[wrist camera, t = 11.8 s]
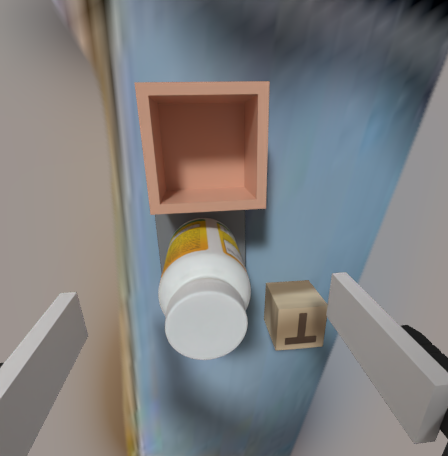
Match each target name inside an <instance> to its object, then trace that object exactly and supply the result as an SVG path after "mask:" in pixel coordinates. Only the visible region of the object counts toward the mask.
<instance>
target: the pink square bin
mask: <svg viewBox="0 0 448 456" xmlns="http://www.w3.org/2000/svg"><path fill="white" fill-rule="evenodd" d="M269 82H270V81H249V82H145V83H135V90H136V98H137V106H138V114H139V123H140V131H141V139H142V147H143V155H144V163H145V172H146V180H147V188H148V196H149V204H150V212H151V215H155V214H173V213H192V212H211V211H229V210H248V209H266V188H267V153H268V118H269Z"/></svg>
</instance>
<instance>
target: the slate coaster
mask: <svg viewBox="0 0 448 456" xmlns="http://www.w3.org/2000/svg"><path fill="white" fill-rule="evenodd" d="M196 218H211V219H214V220H217V221H219V222H221V223H223V224H224V225H225V226H226V227H227V228H228V229H229V230H230V231H231V232H232V234H233V236H234V238H235V241H236V243H237V246H238V249H239V252H240V255H241V258H242V260H243V263H244V266H245V210H229V211H211V212H192V213H173V214H155V221H156V229H157V238H158V246H159V255H160V263H161V272H163V268H164V264H165V260H166V256H167V252H168V248H169V243H170V240H171V238H172V236H173V234H174V233H175V231H176V230H177V229H178V228H179V227H180V226H181V225H183V224H184V223H186V222H188V221H190V220H193V219H196Z"/></svg>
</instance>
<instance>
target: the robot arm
mask: <svg viewBox="0 0 448 456" xmlns="http://www.w3.org/2000/svg"><path fill="white" fill-rule="evenodd" d="M326 316H327V317H328V319H329V320H330V322H331V323H332V325H333V326H334V328H335V329H336V330H337V332H338V333H339V335H340V336H341V338H342V339H343V341H344V342H345V343H346V345H347V346H348V348H349V349H350V351H351V352H352V354H353V355H354V357H355V358H356V360H357V361H358V362H359V364H360V365H361V367H362V368H363V370H364V371H365V373H366V374H367V376H368V377H369V379H370V380H371V382H372V383H373V384H374V386H375V387H376V389H377V390H378V392H379V393H380V395H381V396H382V398H383V399H384V401H385V402H386V404H387V405H388V406H389V408H390V409H391V411H392V412H393V414H394V415H395V417H396V418H397V420H398V421H399V423H400V424H401V425H402V427H403V428H404V430H405V431H406V433H407V434H408V436H409V437H410V439H411V440H412V442H413V443H414V444H418V443H426V442H433V441H435V440H436V438H437V435H438V433H439V430H441V431H442V432H443V433H444V435H445V436H446V437H447V439H448V358H447V357H446V356H445V355H444V354H442V353H441V351H440V350H439V349H438V348H437V347H435V346H434V345H432V343H431V342H430V341H429V340H428V339H427V338H426V337H425V336H424V335H422V334H421V333H420V332H418V331H416V330H415V329H413V328H411V327H409V326H408V325H403V326H400V325H399V324H398V323H397V322H396V321H395V320H394V319H393V318H392V317H391V316H390V315H389V314H388V313H387V312H386V311H385V310H384V309H383V308H382V307H380V305H378V303H377V302H375V301H374V300H373V299H372V298H371V297H370V296H369V295H368V294H367V293H366V292H365V291H364V290H363V289H362V288H361V287H360V286H359V285H358V284H357V283H356V282H355V281H354V280H353V279H352V278H351V277H350V276H349V275H348V274H347V273H346V272H344V273H332V278H331V285H330V292H329V299H328V306H327V313H326ZM87 337H88V333H87V329H86V326H85V322H84V318H83V314H82V310H81V307H80V303H79V299H78V295H77V292H70V293H60V294H59V296H58V297H57V298H56V300H55V301H54V302H53V303H52V304H51V306H50V307H49V308H48V309H47V311H46V312H45V313H44V314H43V316H42V317H41V318H40V319H39V321H38V322H37V323H36V324H35V326H34V327H33V328H32V329H31V330H30V332H29V333H28V334H27V335H26V337H25V338H24V339H23V340H22V342H21V343H20V344H19V346H18V347H17V348H16V349H15V350H14V352H13V353H12V354H11V355H10V357H9V358H8V359H7V360H6V362H5V363H0V456H27V455H28V453H29V451H30V449H31V447H32V445H33V443H34V441H35V439H36V437H37V435H38V433H39V431H40V429H41V427H42V425H43V423H44V421H45V419H46V418H47V415H48V414H49V411H50V409H51V408H52V406H53V404H54V402H55V400H56V398H57V396H58V394H59V392H60V390H61V388H62V386H63V384H64V382H65V380H66V378H67V376H68V374H69V372H70V370H71V369H72V367H73V365H74V363H75V361H76V359H77V357H78V355H79V353H80V351H81V349H82V347H83V345H84V343H85V341H86V339H87ZM442 456H448V443H447V445H446V447H445V450H444V452H443V454H442Z"/></svg>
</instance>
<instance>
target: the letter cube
mask: <svg viewBox="0 0 448 456" xmlns="http://www.w3.org/2000/svg"><path fill="white" fill-rule="evenodd" d="M327 306H328V305H327V303H326V302H325V301H324V300H323V298H322V297H321V296H320V294H319V293H318V292H317V291H316V289H315V288H314V287H313V285H312V284H311V283H310V282H309V280H305V281H289V282H273V283H266V292H265V311H264V321H265V323H266V326H267V329H268V331H269V334H270V337H271V339H272V342H273V345H274V347H275V350H288V349H299V348H311V347H322V346H323V340H324V333H325V326H326V319H327V316H326V313H327Z"/></svg>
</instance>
